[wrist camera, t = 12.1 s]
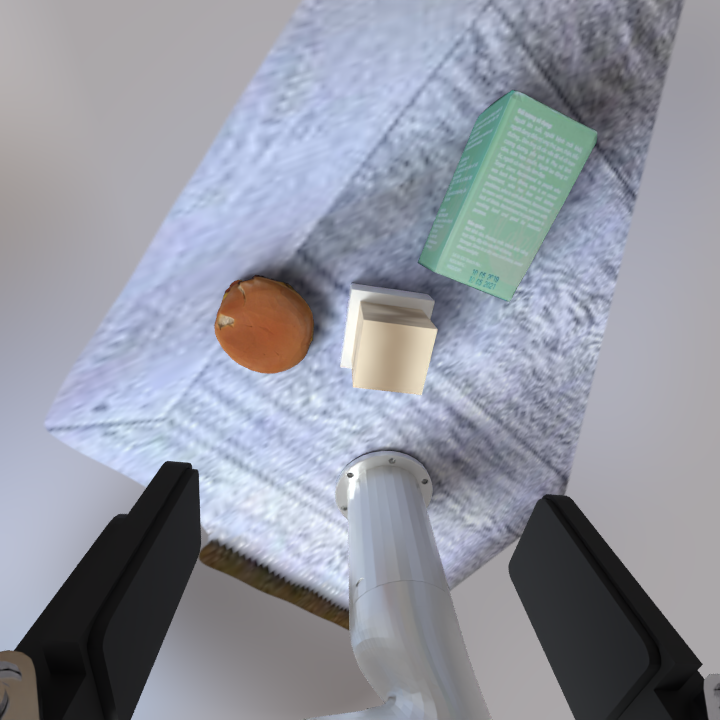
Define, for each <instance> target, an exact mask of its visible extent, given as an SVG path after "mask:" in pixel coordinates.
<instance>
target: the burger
mask: <svg viewBox="0 0 720 720" xmlns="http://www.w3.org/2000/svg"><path fill="white" fill-rule="evenodd" d="M214 326H215V334H216V337H217V339H218V341H219V343H220V344H221V346H222V348H223V350H224V351H225V352H226V353H227V354H228V355H229V356H230V357H231V358H232V359H233V360H234V361H235V362H237V363H238V364H240V365H242V366H244V367H246V368H248V369H250V370H253V371H256V372H260V373H278V372H282V371H286V370H288V369H290V368H292V367H294V366H295V365H297V364H298V363H299V362H300V361H301V360H303V359H304V357H305V356H306V354H307V351H308V348H309V346H310V344H311V341H313V328H314V320H313V314H312V312H311V310H310V308H309V306H308V304H307V303H306V302H305V300H304V299H303V298H302V297H301V296H300V295H299V294H298V293H297V292H296V291H295V290H294V289H293V288H292V287H291V286H290V285H289V284H287V283H284V282H279V281H276V280H273V279H268V278H266V277H264V276H260V275H255V276H254V277H253V278H252V279H250V280H247V281H242V280H237V281H234V282H233V283H232V284H231V285H230V287H229V288H228V289H227V290H226V291H225V294H224V296H223V300H222V303H221V306H220V308H219V310H218V313H217V318H216V322H215V325H214Z"/></svg>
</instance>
